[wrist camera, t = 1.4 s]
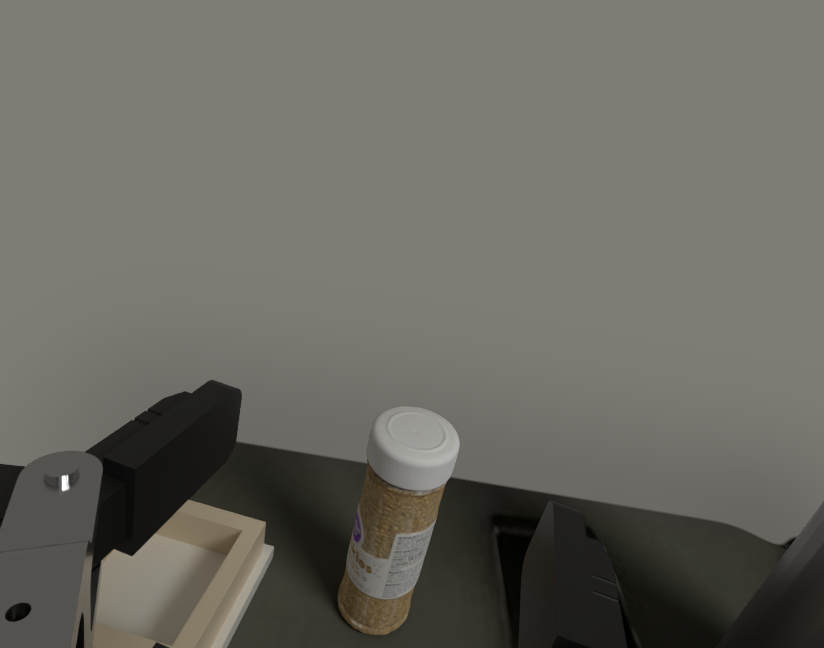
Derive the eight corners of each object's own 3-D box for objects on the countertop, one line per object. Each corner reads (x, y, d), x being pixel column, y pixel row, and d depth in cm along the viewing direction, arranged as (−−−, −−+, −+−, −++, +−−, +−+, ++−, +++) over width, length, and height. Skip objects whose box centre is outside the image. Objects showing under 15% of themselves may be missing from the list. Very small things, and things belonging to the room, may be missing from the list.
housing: (273, 557, 33) (277, 518, 31) (183, 732, 24) (183, 689, 22) (128, 514, 33) (126, 474, 32) (-12, 669, 24) (-25, 623, 23)
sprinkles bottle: (326, 582, 32) (358, 408, 26) (390, 561, 34) (433, 397, 28) (354, 652, 28) (397, 470, 23) (423, 623, 31) (479, 451, 25)
